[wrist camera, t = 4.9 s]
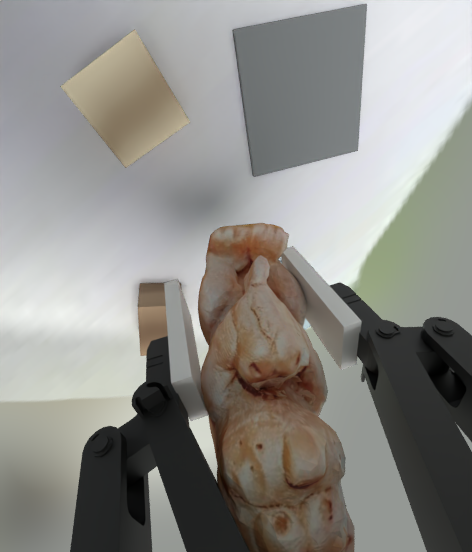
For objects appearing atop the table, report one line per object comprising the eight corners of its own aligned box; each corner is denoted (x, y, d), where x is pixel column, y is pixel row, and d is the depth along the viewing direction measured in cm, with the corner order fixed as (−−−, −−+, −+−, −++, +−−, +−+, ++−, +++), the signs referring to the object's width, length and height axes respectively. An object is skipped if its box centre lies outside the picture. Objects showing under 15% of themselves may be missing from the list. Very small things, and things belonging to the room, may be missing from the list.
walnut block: (139, 282, 28) (137, 307, 25) (180, 282, 29) (183, 305, 26) (142, 328, 31) (140, 355, 28) (178, 326, 32) (181, 352, 29)
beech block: (80, 89, 19) (60, 86, 15) (139, 45, 19) (134, 29, 15) (131, 155, 22) (125, 168, 18) (183, 118, 22) (190, 122, 18)
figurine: (269, 200, 18) (542, 448, 5) (262, 298, 22) (406, 562, 9) (168, 207, 16) (225, 557, 4) (181, 310, 20) (227, 635, 8)
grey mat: (232, 30, 20) (234, 29, 19) (363, 5, 21) (367, 3, 20) (253, 175, 25) (254, 176, 25) (355, 150, 26) (357, 150, 26)
